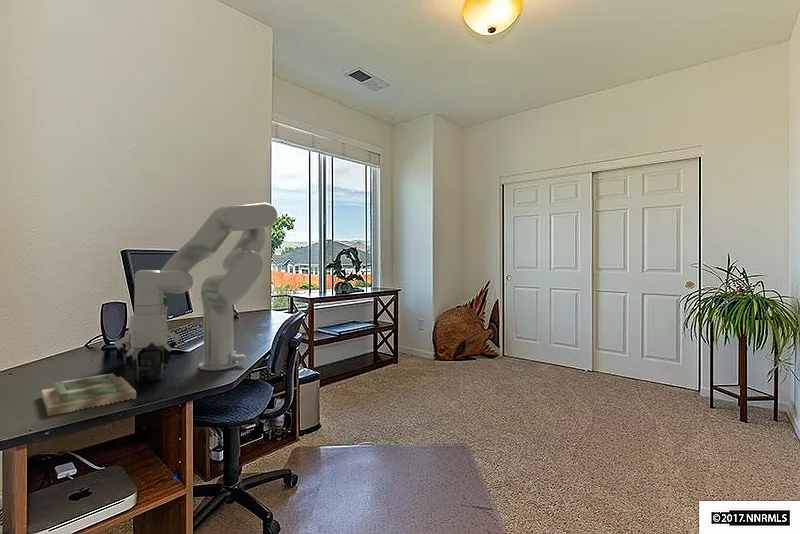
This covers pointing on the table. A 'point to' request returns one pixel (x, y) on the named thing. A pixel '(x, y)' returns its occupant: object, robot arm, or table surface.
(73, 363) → the table surface
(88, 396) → the socket board
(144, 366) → the supplement bottle
